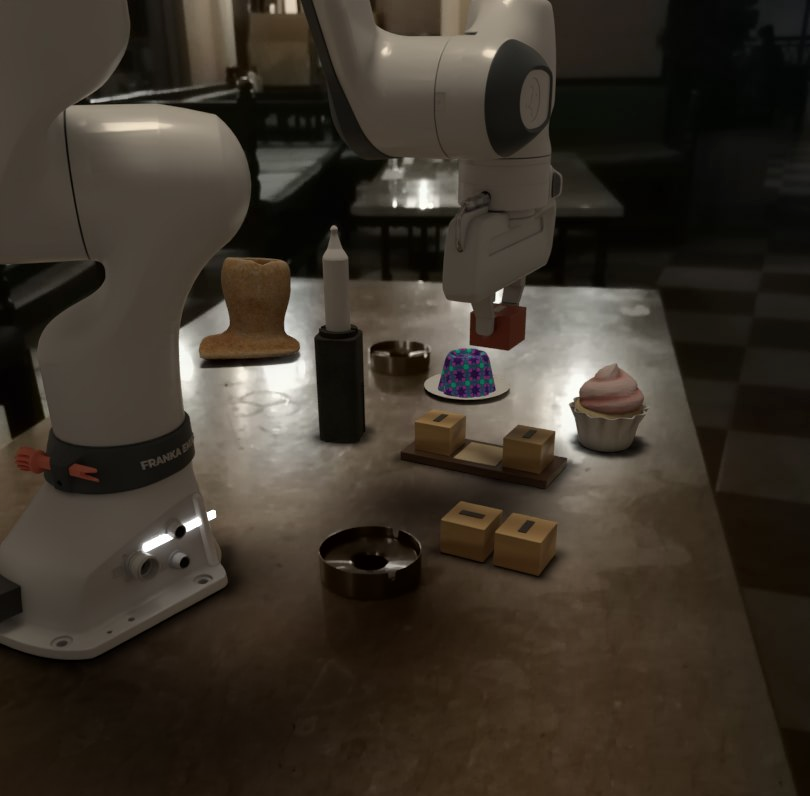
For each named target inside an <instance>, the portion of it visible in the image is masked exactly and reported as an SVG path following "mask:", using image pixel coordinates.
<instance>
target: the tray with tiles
mask: <svg viewBox="0 0 810 796" xmlns="http://www.w3.org/2000/svg"><path fill="white" fill-rule="evenodd" d="M466 430H467V415H466V414H462V413H456V412H449V411H444V410H438V409H430V410H429V411H427V412H426V413H424V414H423V415H422V416H421V417H419V418H418V419H415V421H414V440H413V441H412V442H411V443H410V444H409V445H407V446H406V447H404V448H403V449H402V450H401V451H400V460H402V461H403V460H404V461H409V462H414V463H418V464H423V465H429V466H433V467H438V468H443V469H448V470H451V471H452V470H453V471H457V472H462V473H467V474H471V475H472V474H473V475H476V476H482V477H487V478H491V479H496V480H502V481H506V482H510V483H511V482H512V483H515V484H520V485H525V486H529V487H535V488H539V489H540V488H541V489H545V490H546V489H547V488H548V487H549V486H550V485H551V484H552V483H553V481H555V480H556V478H557V477H558V476H559V475H560V474H561V472H562V471H564V469H565V468H566V467H567V465H568V457H566V456H559V455H555V446H556V445H555V442H556V431H555V430H551V429H547V428H540V427H535V426H529V425H524V424H517V425H516V426H515V427H514V428H512V429H511V430H510V431H509V432H508V433H507V434H506V435H505V436H504V437H503V438H502V445H501V444H496V443H491V442H485V441H481V440H475V439H469V438H466V436H467V435H466V432H467V431H466Z"/></svg>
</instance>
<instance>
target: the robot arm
mask: <svg viewBox="0 0 810 796" xmlns="http://www.w3.org/2000/svg"><path fill="white" fill-rule="evenodd" d="M300 4H301V7H302V9H303V13H304V16H305V20H306V22H307V25H308V28H309V31H310V34H311V38H312V41H313V43H314V47H315V50H316V53H317V56H318V59H319V62H320V65H321V68H322V71H323V75H324V78H325V83H326V91H327V92H326V93H327V97H328V98H327V99H328V104H329V105H328V106H329V111H330V116H331V120H332V123H333V126H334V128H335V130H336V133H337V134H338V136H339V137H340V138H341V139H342V141H343V143H344V144H346V146H347V147H348V148H349V149H350V150H351V151H352V152H353V154H355V155H356V156H358V157H359V158H360V159H362V160H366V161H377V160H393V159H395V160H396V159H403V158H411V159H430V160H431V159H433V160H458V178H457V179H458V184H457V186H458V188H457V189H458V190H457V204H458V205H459V206H460V207H459V210H458V212H457V213H456V214H455V215H454V217H453V218H452V219H451V220H450V222H449V223H448V226H447V230H446V236H445V241H444V252H443V253H444V254H443V264H442V265H443V266H442V267H443V268H442V287H441V288H442V291H443V294H444V297H445V299H446V300H447V301H450V302H457V303H466V304H470V305H471V308H472V311H474V314H475V317H476V333H477V334H479V335H485V336H489V335H491V334H493V333H494V332H495V331H496V330H497V316H495V315H494V307H493V303H496V297H497V296H496V294H497V292H499V291H501V290H502V295H501V301H500V302H499V303H498V304H506V305H514V306H520V302H521V300H522V296H523V293H524V289H525V286H526V279H527V276H529V275H530V274H531V273H534V272H535V271H537V270H539V269H540V268H542V267H545V266H546V265H547V264H548V261H549V259H550V256H551V253H552V248H553V243H554V234H555V227H556V217H557V201H556V199H557V198H558V197H560V196H561V195H562V191H563V175H562V174H561V172H559V171H558V170H556V169H555V168H554V167H553V166H552V164H551V163H552V144H551V139H550V131H549V130H550V129H549V127H550V122H551V121H550V120H551V116H552V112H553V109H554V107H555V102H556V85H557V82H556V81H557V44H556V43H557V41H556V26H555V25H556V23H555V17H554V16H555V15H554V10H553V5H552V2H550V1H549V0H470V2H469V5H468V10H467V15H466V22H465V28H464V32H463V34H456V35H401V34H397V33H392V32H390V31H387V30H385V29H383V28H381V27H379V26H378V25H377V24H376V22H375V18H374V14H373V13H374V12H373V10H372V9H373V8H372V5H371V1H370V0H300ZM129 12H130V11H129V6H128V0H0V265H3V266H4V265H23V264H24V265H25V264H39V263H58V262H76V261H77V262H78V261H92V262H98V263H101V264H102V266H103V267H104V270H105V271H104V273H105V278H104V281H103V282H102V284H101V286H99V288H97V290H95V291H94V292H93V293H91V294H90V295H88V296H87V297H84V298H83V299H81V300H79V301H78V302H76V303H74V304H72V305H71V306H69V307H68V308H66V309H64V310H63V311H61V312H60V313H59V314H58V315H56V316H55V317H54V318H52V319H51V320H50V321H49V322H48V324H47V325H46V326H45V328H44V329H43V330H42V332H41V334H40V337H39V340H38V344H37V348H36V349H37V353H36V355H37V356H36V357H37V361H38V366H39V371H40V376H41V381H42V385H43V386H42V387H43V390H44V395H45V400H46V404H47V409H48V414H49V419H50V423H51V426H50V429H49V431H48V436H47V442H46V451H44V450H42V449H36V448H35V449H34V448H33V447H30V446H22V447H20V448H19V449H17V451H16V455H15V456H14V460H15V461H14V463H15V465H16V467H17V469H19V470H20V471H24V472H31V473H33V474H36V475H40V474H42V473H43V478H44V481H43V482H42V484H41V485H40V487H39V488H38V490H37V491H36V492H35V494H34V496H33V497H32V499H31V500H30V501H29V503H28V504H27V506H26V508H25V509H24V510H23V512H22V514H21V515H20V516H19V518H18V519H17V521H16V522H15V524H14V525H13V526H12V528H11V529H10V531H8V533H7V535H5V538H4V539H3V540H2V541H1V543H0V644H1V645H3V646H6V647H8V648H10V649H13V650H17V651H19V652H23V653H26V654H29V655H32V656H37V657H41V658H46V659H47V658H48V659H54V660H66V661H67V660H68V661H69V660H70V661H77V660H78V661H80V660H90V659H94V658H96V657H99V656H100V655H103V654H104V653H106V652H108V651H110V650H112V649H114V648H116V647H117V646H119V645H121V644H123V643H125V642H126V641H128V640H130V639H132V638H134V637H136V636H137V635H139V634H141V633H143V632H145V631H147V630H149V629H151V628H152V627H154V626H156V625H158V624H159V623H161V622H163V621H165V620H167V619H169V618H171V617H173V616H174V615H176V614H178V613H180V612H182V611H183V610H185V609H188V608H189V607H191V606H193V605H195V604H196V603H198V602H200V601H202V600H204V599H206V598H207V597H209V596H211V595H213V594H215V593H217V592H219V591H220V590H223V589H224V588H225V587H226V586H227V585H228V583H229V579H228V576H227V572H226V569H225V568H224V566H223V564H222V563H221V562H222V550H221V547H220V545H219V543H218V541H217V539H216V537H215V535H214V532H213V529H212V527H211V523H210V521H212V520H213V519H215V518H217V513H216V510H214V509H212V510H210V511H207V507H206V504H205V501H204V496H203V493H202V490H201V488H200V485H199V481H198V479H197V475H196V472H195V467H194V463H193V460H194V458H195V456H196V450H195V449H196V448H195V433H194V432H193V428H192V422H191V417H190V415H189V413H188V412H187V411H186V410H185V406H184V399H183V389H182V377H181V366H180V365H181V362H180V329H181V323H182V322H181V321H182V316H183V311H184V309H185V308H184V307H185V305H186V301H187V299H188V296H189V294H190V292H191V289H192V287H193V285H194V284H195V282H196V280H197V278H198V277H199V275H200V274H201V272H202V271H203V269H204V268H205V267H206V266H207V264H208V263H209V262H210V260H211V259H212V258H213V257H215V255H216V254H217V253H218V252H219V251H220V250H221V249H223V248H224V247H225V246H226V245H227V244H229V243H230V242H231V241H232V240H233V238H234V237H235V236H236V234H238V232H239V230H240V229H241V227H242V226H243V223H244V221H245V219H246V217H247V214H248V210H249V206H250V201H251V197H252V195H251V194H252V179H251V171H250V167H249V163H248V158H247V156H246V153H245V151H244V149H243V147H242V145H241V143H240V141H239V139H238V138H237V135H235V133H234V132H233V131H232V129H231V128H230V127H229V126H228V125H227V123H226V122H225V121H223V120H222V119H221V117H219V116H218V115H217V114H215V113H210V112H205V111H200V110H195V109H190V108H186V107H181V106H173V105H167V104H162V103H120V104H119V103H118V104H117V103H116V104H115V103H113V104H77V103H79V102H80V101H82V100H84V99H85V98H87V97H89V96H91V95H92V94H94V92H96V91H98V90H99V89H100V88H102V87H103V86H104V85H105V83H107V81H109V79H110V78H111V76H112V75H113V73H114V72H115V71H116V69H117V68H118V67H119V64H120V63H121V61H122V59H123V57H124V56H125V53H126V51H127V48H128V45H129V41H130V34H131V19H130V13H129Z"/></svg>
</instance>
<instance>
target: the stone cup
mask: <svg viewBox="0 0 810 796" xmlns="http://www.w3.org/2000/svg"><path fill="white" fill-rule="evenodd" d="M291 274H292V273H291V269H290V266H289V264H288V263H287V262H286V261H285V260H282V259H278V258H277V259H276V258H266V257H225V259H224V260H223V263H222V266H221V273H220V285H221V290H222V295H223V298H224V302H225V306H226V309H227V314H228V319H229V325H228V327H227V328H226V330H224V331H222V332H221V333H216V334H210V335H206V336H204V337H203V339H201V341H200V343H199V347H198V354H199V355H198V356H199V358H200V359H203V360H247V359H252V360H253V359H266V358H267V359H268V358H277V357H284V356H292V355H295V354H297V353H298V352H299V351H300V348H301V343H300V341H299V340H297V339H296V338H295V337H293V336H292V335H289V334H287V332H286V329H285V319H286V313H287V310H288V306H289V303H290V299H291V293H292V291H291V289H292V287H291V286H292V285H291V280H292V279H291V278H292V277H291Z"/></svg>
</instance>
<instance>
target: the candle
mask: <svg viewBox="0 0 810 796" xmlns="http://www.w3.org/2000/svg"><path fill="white" fill-rule="evenodd" d="M338 230H339V229H338V227H337V226H336V225H331V227H330V229H329V231H330V235H329V236H330V237H329V241H328V244H327V248H326V250H325V251H324V253H323V255H322V258H321V259H322V260H321V261H322V278H323V280H322V281H323V299H324V318H325V319H324V321H325V324H323V325H321V326H320V327H318V332H317V333H316V335H314V337H313V342H314V343H313V344H314V361H315V377H316V379H315V380H316V396H317V397H316V398H317V415H318V433H319V439H320V440H321V441H323V442H330V443H342V444H344V443H345V444H354V443H358V442H359V441H361V436H362V435H363V434H364V433H365V432H366V402H365V401H366V399H365V369H364V367H365V365H364V336H363V335H364V333H363V330H362V329H359V327H358V326H357V325H356V324H352V323H351V299H350V298H351V297H350V272H349V270H350V268H349V267H350V266H349V256H348V255H347V253H346V251H345V250H344V249H343V246H342V244H341V241H340V237H339V234H338Z"/></svg>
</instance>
